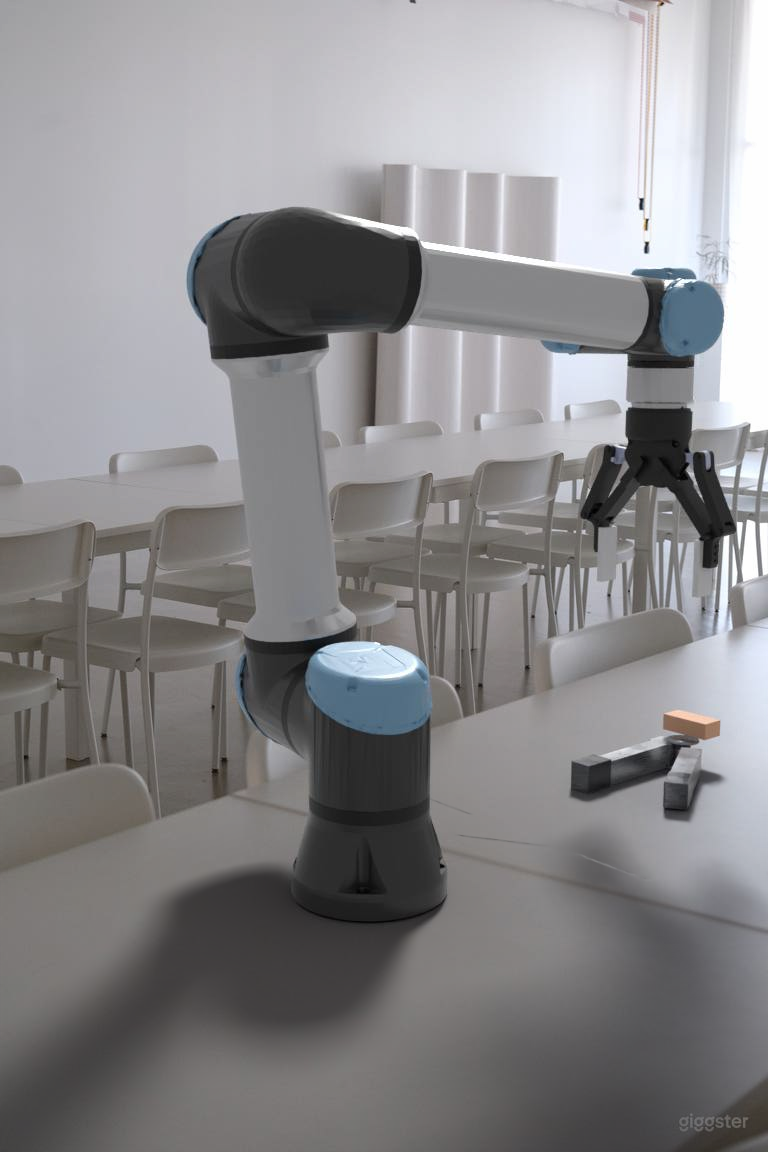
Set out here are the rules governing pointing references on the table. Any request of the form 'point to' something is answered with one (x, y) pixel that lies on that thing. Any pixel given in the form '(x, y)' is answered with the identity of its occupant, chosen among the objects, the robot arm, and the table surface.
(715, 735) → the tab
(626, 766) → the tong fixed
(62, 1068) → the table surface
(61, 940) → the table surface
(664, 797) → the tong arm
